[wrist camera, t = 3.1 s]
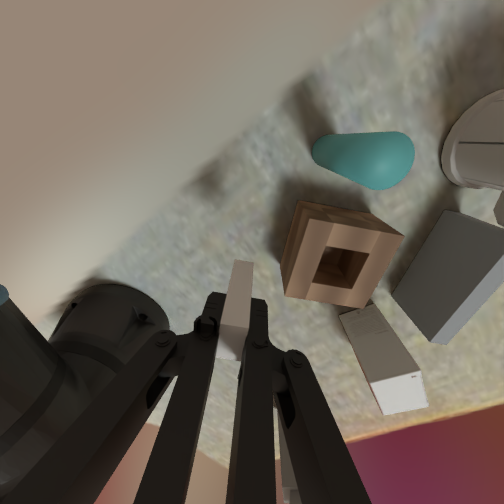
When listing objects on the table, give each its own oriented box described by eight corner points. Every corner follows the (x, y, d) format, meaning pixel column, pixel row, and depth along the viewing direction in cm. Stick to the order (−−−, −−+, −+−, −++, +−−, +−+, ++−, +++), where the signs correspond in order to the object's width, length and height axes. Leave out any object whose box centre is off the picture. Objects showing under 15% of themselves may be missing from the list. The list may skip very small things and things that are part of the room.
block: (279, 264, 29) (284, 296, 23) (298, 200, 25) (309, 218, 19) (343, 275, 30) (363, 308, 24) (372, 213, 25) (404, 236, 20)
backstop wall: (391, 295, 31) (429, 342, 24) (444, 209, 25) (517, 238, 18) (404, 297, 31) (446, 344, 24) (460, 212, 25) (539, 242, 18)
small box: (337, 314, 33) (367, 382, 24) (374, 302, 32) (422, 369, 22) (351, 345, 36) (382, 417, 27) (385, 336, 35) (431, 408, 26)
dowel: (308, 163, 23) (349, 184, 12) (317, 132, 22) (371, 126, 11) (334, 168, 23) (397, 194, 13) (345, 137, 22) (425, 137, 11)
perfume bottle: (277, 409, 46) (287, 550, 30) (276, 391, 43) (285, 538, 27) (309, 408, 46) (335, 552, 30) (310, 390, 43) (339, 539, 27)
